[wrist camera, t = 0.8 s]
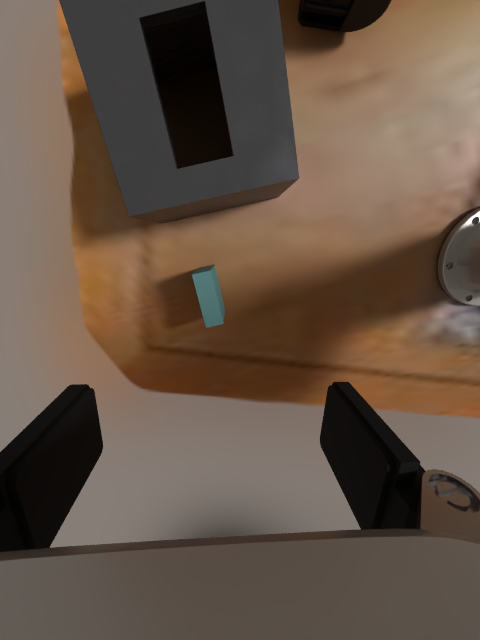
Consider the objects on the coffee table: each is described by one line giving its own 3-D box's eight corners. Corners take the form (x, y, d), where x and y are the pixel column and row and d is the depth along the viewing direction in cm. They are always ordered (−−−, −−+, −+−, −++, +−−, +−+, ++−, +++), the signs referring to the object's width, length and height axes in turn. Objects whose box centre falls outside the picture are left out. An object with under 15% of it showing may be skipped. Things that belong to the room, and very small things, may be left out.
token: (214, 264, 32) (210, 270, 26) (225, 309, 34) (223, 324, 28) (199, 267, 32) (191, 274, 26) (210, 312, 34) (205, 327, 28)
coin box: (255, 45, 25) (269, -72, 16) (277, 197, 29) (299, 178, 20) (120, 78, 26) (54, -15, 16) (161, 223, 30) (128, 216, 20)
